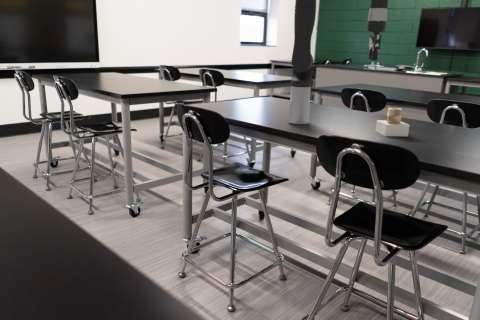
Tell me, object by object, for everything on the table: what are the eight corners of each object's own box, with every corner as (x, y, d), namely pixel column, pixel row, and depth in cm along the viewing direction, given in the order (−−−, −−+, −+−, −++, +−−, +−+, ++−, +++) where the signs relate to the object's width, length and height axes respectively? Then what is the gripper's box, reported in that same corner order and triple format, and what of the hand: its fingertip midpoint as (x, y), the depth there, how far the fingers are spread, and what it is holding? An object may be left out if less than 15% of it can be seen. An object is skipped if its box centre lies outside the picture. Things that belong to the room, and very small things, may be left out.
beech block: (387, 123, 169) (389, 109, 168) (386, 121, 174) (388, 107, 172) (400, 124, 168) (402, 110, 167) (398, 121, 173) (400, 108, 171)
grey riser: (384, 136, 168) (386, 124, 166) (375, 131, 177) (376, 120, 176) (407, 136, 168) (409, 125, 167) (397, 131, 178) (398, 120, 176)
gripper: (365, 20, 175) (361, 59, 180) (370, 19, 162) (366, 60, 167) (383, 21, 174) (378, 59, 179) (389, 19, 161) (384, 60, 166)
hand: (372, 59), depth 173 cm, fingers open, 8 cm apart
